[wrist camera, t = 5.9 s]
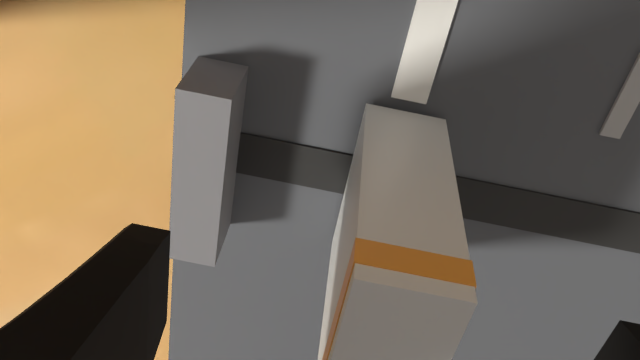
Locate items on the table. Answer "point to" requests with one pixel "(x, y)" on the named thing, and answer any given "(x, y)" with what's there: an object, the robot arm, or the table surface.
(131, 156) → the table surface
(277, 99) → the console
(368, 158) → the fader tab
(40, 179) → the table surface
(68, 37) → the table surface
